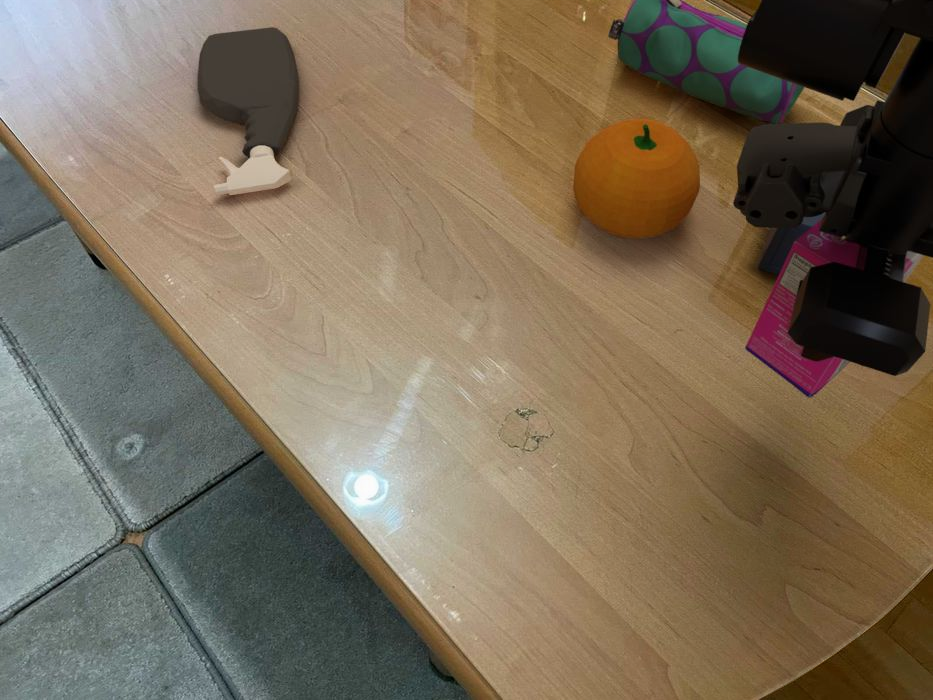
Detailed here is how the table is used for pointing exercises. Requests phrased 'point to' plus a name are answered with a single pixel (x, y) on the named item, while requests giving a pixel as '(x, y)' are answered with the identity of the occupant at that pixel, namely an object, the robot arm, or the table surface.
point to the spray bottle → (251, 100)
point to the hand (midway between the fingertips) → (818, 315)
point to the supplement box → (775, 318)
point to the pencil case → (699, 58)
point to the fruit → (636, 178)
